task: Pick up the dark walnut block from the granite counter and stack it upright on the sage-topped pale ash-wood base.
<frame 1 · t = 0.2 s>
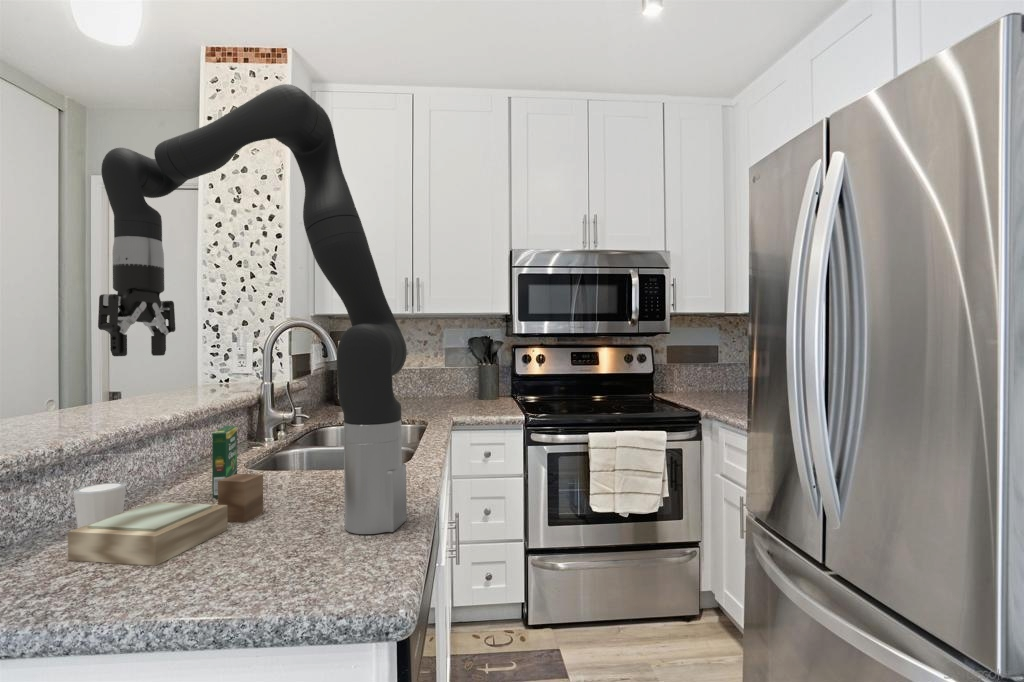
hand: (139, 355, 93), 28 cm above the worktop, fingers open, 8 cm apart
coffee box: (225, 493, 107), on the worktop
plinth: (153, 543, 79), on the worktop
walnut block: (241, 517, 91), on the worktop
white cup: (100, 531, 85), on the worktop
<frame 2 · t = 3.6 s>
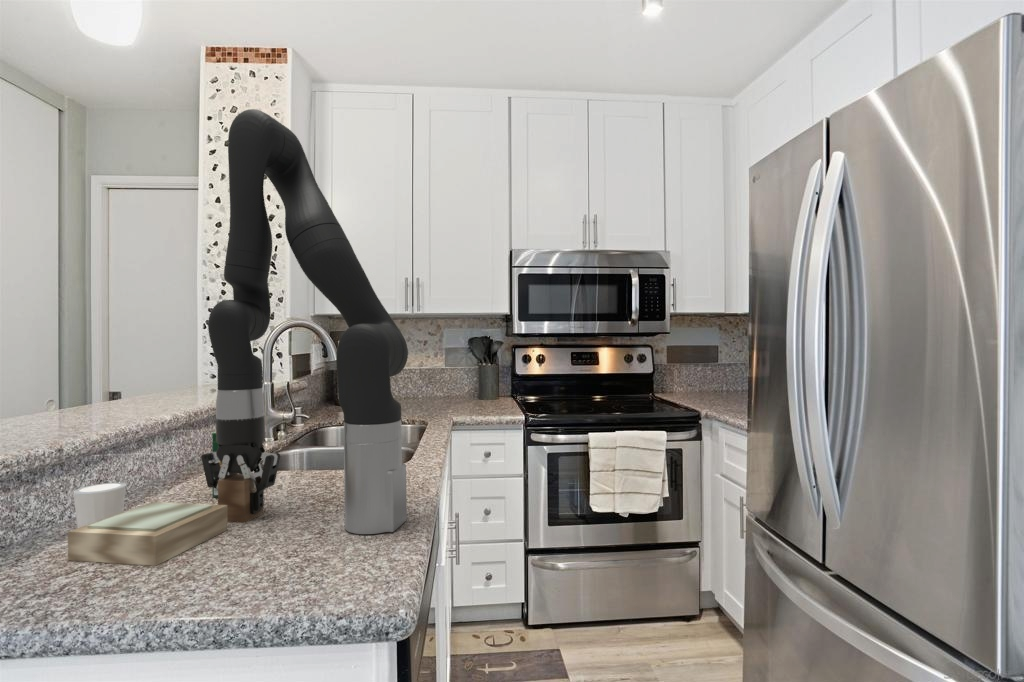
hand: (241, 511, 91), 1 cm above the worktop, fingers closed on walnut block, 5 cm apart
walnut block: (241, 517, 91), on the worktop, touching gripper
everything else where it was.
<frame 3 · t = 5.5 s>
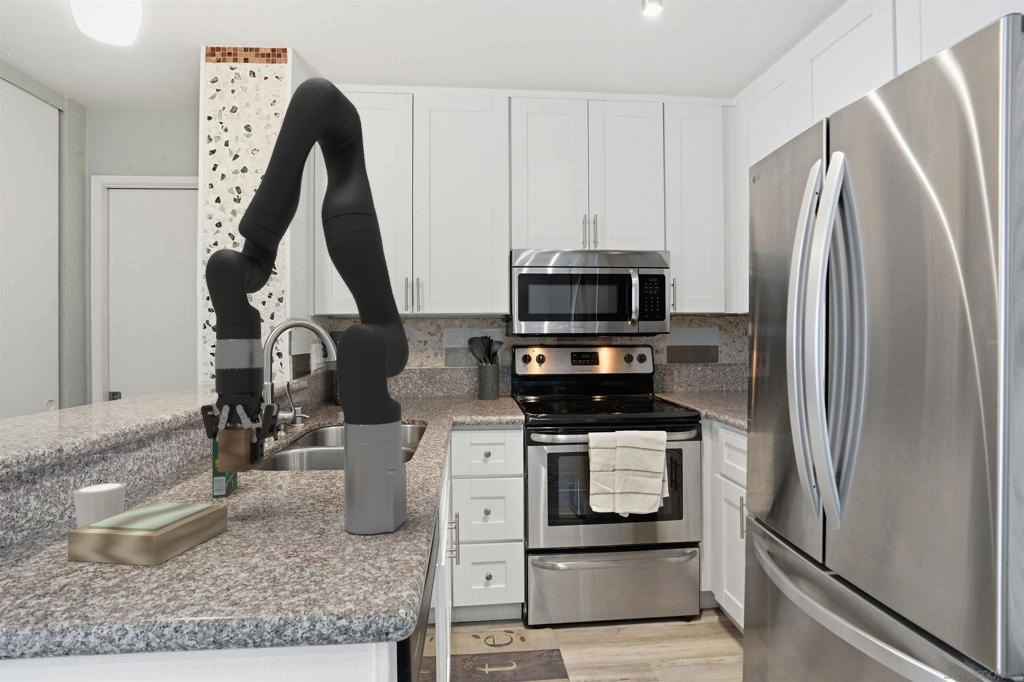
hand: (241, 462, 91), 10 cm above the worktop, fingers closed on walnut block, 5 cm apart
walnut block: (241, 468, 91), point 9 cm above the worktop, touching gripper
everything else where it was.
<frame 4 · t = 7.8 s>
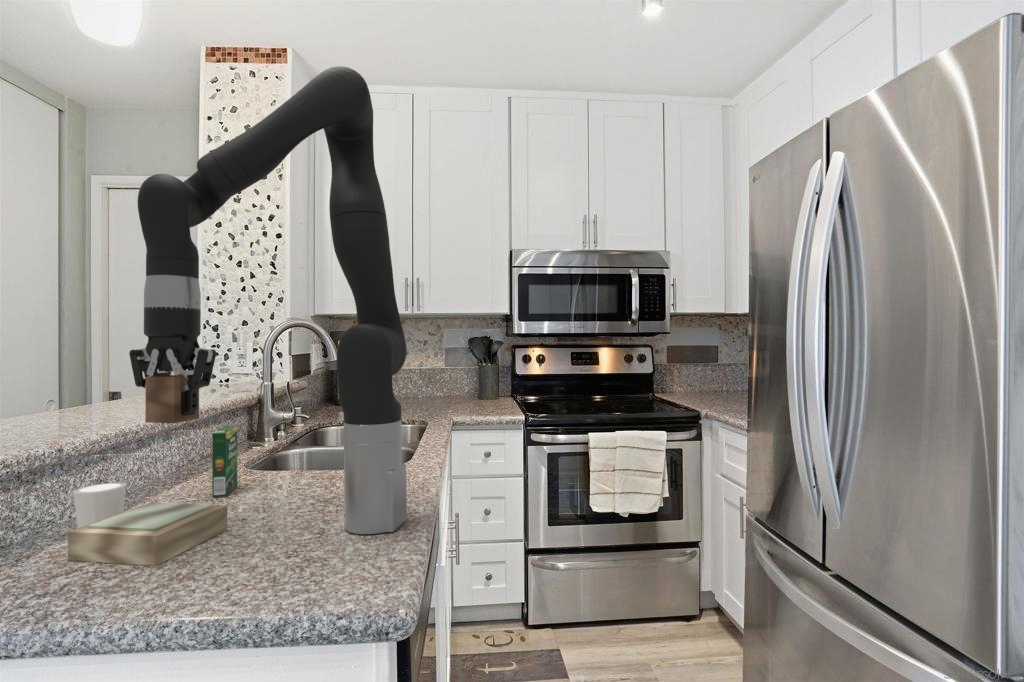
hand: (172, 414, 82), 19 cm above the worktop, fingers closed on walnut block, 5 cm apart
walnut block: (172, 420, 82), point 18 cm above the worktop, touching gripper
everything else where it was.
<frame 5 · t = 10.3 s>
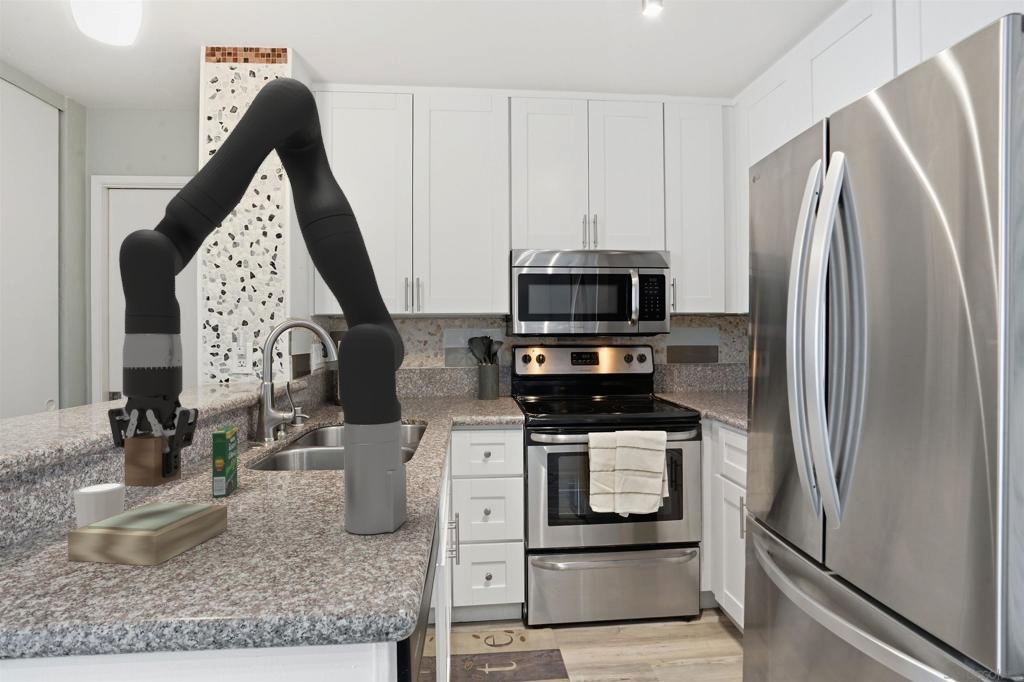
hand: (153, 475, 79), 10 cm above the worktop, fingers closed on walnut block, 5 cm apart
walnut block: (153, 482, 79), point 9 cm above the worktop, touching gripper
everything else where it was.
when the fingers open (6 cm above the worktop, at t = 12.2 s): walnut block stays where it is, resting on plinth.
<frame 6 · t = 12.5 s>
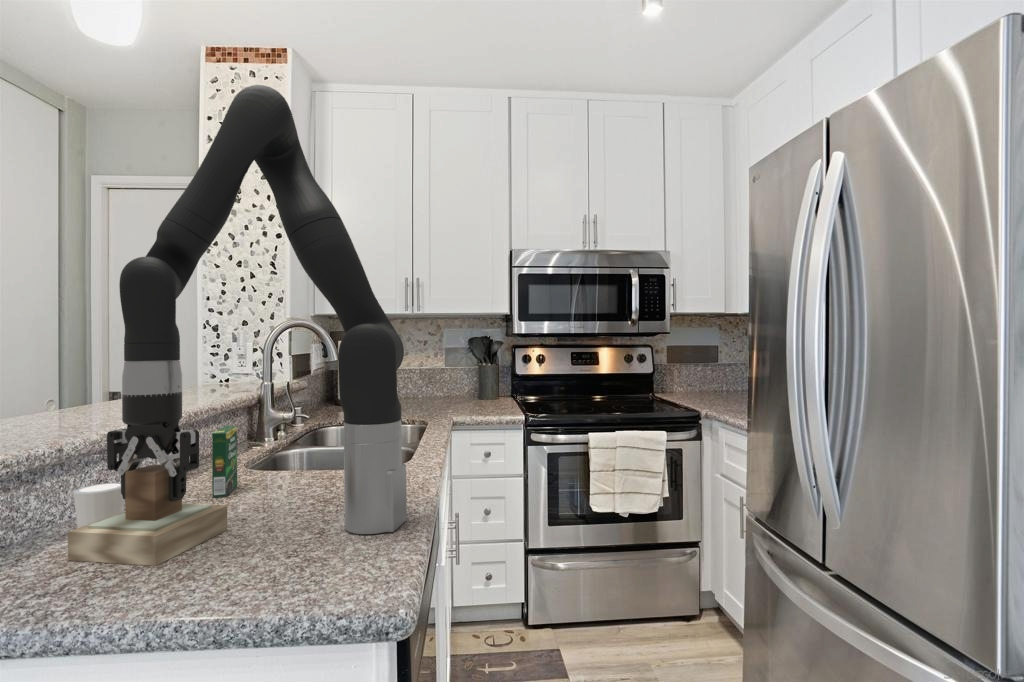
hand: (153, 498, 79), 7 cm above the worktop, fingers open, 7 cm apart
walnut block: (154, 514, 79), point 4 cm above the worktop, touching plinth
everything else where it was.
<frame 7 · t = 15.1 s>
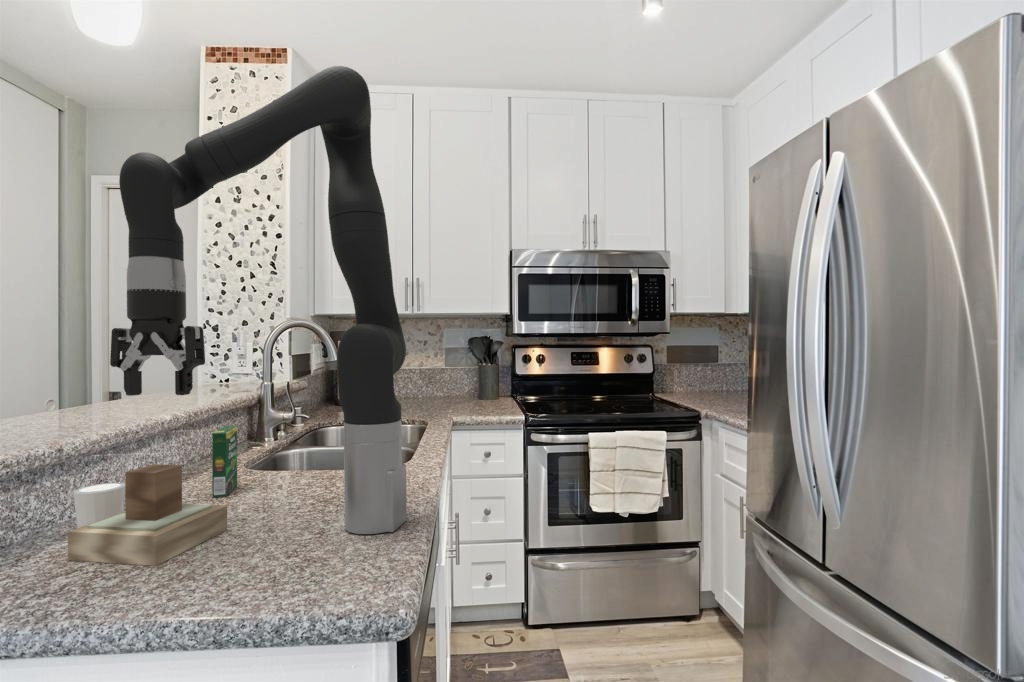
hand: (158, 395, 80), 22 cm above the worktop, fingers open, 8 cm apart
nothing on the worktop moved.
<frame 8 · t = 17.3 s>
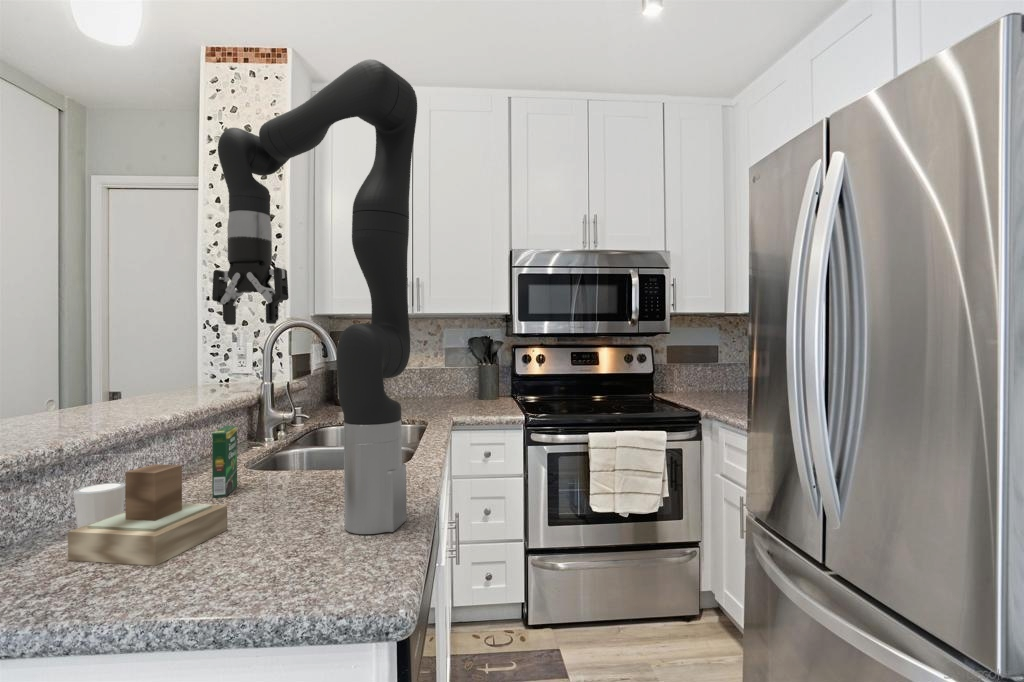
hand: (250, 324, 99), 34 cm above the worktop, fingers open, 8 cm apart
nothing on the worktop moved.
at the end: walnut block inside the target area on the plinth (0.1 cm from its centre), point 4.4 cm above the plinth's base; walnut block tilted 0°; the gripper is holding nothing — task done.
